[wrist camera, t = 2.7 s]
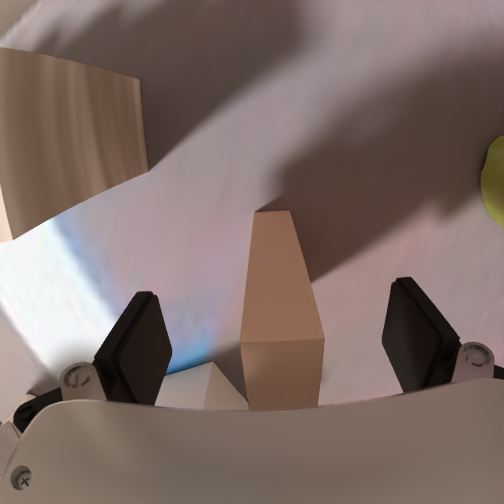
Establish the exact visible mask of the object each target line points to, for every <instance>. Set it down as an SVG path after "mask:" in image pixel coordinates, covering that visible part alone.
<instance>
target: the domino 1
mask: <svg viewBox="0 0 504 504" xmlns="http://www.w3.org/2000/svg"><path fill="white" fill-rule="evenodd" d="M148 171H149V168H148V160H147V152H146V143H145V134H144V125H143V114H142V102H141V89H140V80H138V79H135V78H132V77H129V76H126V75H122V74H119V73H116V72H112V71H109V70H106V69H102V68H98V67H95V66H91V65H87V64H83V63H79V62H75V61H71V60H67V59H63V58H58V57H53V56H49V55H44V54H38V53H33V52H27V51H21V50H15V49H8V48H1V47H0V242H5V241H12V240H14V239H16V238H18V237H19V236H21V235H23V234H24V233H26V232H28V231H29V230H31V229H33V228H35V227H36V226H38V225H40V224H42V223H43V222H45V221H47V220H49V219H51V218H52V217H54V216H56V215H58V214H60V213H62V212H64V211H65V210H67V209H69V208H71V207H73V206H75V205H77V204H79V203H81V202H83V201H85V200H87V199H89V198H91V197H93V196H95V195H97V194H99V193H101V192H104V191H106V190H108V189H110V188H112V187H114V186H116V185H119V184H121V183H123V182H125V181H128V180H130V179H132V178H134V177H137V176H139V175H141V174H144V173H146V172H148Z"/></svg>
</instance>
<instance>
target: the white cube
mask: <svg viewBox="0 0 504 504" xmlns="http://www.w3.org/2000/svg"><path fill="white" fill-rule="evenodd" d="M154 406H163V407H176V408H192V409H219V410H249V407H248V402H247V401H246V400H245V399H244V398H243V396H242V395H241V394H240V393H239V392H238V391H237V390H236V388H235V387H234V386H233V385H232V384H231V383H230V381H229V380H228V379H227V378H226V377H225V375H224V374H223V373H222V372H221V371H220V370H219V368H218V367H217V366H216V365H215V363H214V362H213V361H212V362H209V363H206V364H203V365H200V366H197V367H193V368H190V369H187V370H183V371H180V372H177V373H173V374H170V375H166V376H164V379H163V382H162V385H161V388H160V391H159V394H158V397H157V399H156V402H155V405H154Z"/></svg>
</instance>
